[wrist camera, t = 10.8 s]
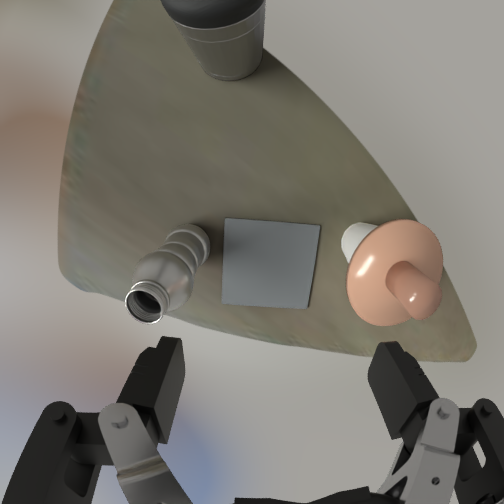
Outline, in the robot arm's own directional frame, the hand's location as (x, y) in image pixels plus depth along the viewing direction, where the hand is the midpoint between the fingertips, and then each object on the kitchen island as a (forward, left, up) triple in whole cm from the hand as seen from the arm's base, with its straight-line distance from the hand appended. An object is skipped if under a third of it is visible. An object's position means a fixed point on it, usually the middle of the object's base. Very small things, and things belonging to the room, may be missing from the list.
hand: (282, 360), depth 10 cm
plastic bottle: (+5, -10, -31) cm, 33 cm away
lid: (+3, +16, -18) cm, 24 cm away
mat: (+8, +2, -31) cm, 32 cm away
